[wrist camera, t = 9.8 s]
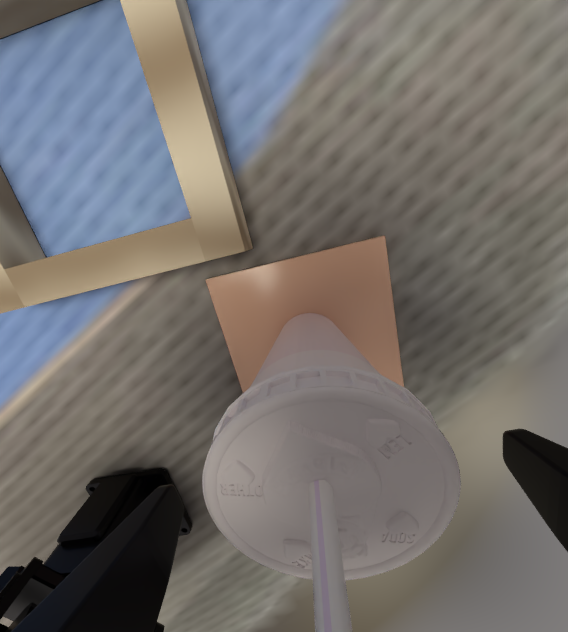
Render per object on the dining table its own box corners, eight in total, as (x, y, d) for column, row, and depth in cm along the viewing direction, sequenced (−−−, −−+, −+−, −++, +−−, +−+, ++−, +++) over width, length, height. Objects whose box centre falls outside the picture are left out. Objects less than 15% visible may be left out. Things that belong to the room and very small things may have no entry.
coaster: (401, 391, 17) (405, 396, 16) (254, 417, 18) (253, 423, 18) (381, 235, 14) (384, 235, 14) (208, 278, 15) (205, 279, 15)
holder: (253, 248, 15) (245, 251, 12) (36, 303, 16) (-8, 315, 14) (161, -93, 11) (122, -188, 8) (-115, 21, 12) (-214, -31, 10)
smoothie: (342, 272, 14) (1041, 851, 1) (377, 369, 16) (804, 1081, 3) (238, 314, 15) (-173, 881, 2) (281, 401, 17) (224, 1031, 4)
